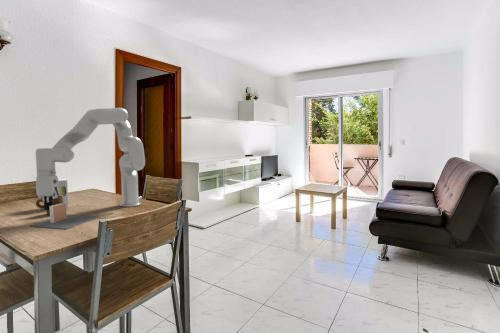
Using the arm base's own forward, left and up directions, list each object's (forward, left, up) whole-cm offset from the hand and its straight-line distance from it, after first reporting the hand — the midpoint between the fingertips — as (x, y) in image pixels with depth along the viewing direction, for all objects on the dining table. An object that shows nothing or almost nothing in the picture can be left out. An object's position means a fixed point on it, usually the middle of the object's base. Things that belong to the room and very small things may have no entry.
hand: (48, 209), depth 142 cm
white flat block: (0, +6, -5) cm, 8 cm away
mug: (-9, -9, -6) cm, 14 cm away
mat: (0, +10, -6) cm, 12 cm away
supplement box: (-24, -19, -6) cm, 31 cm away
